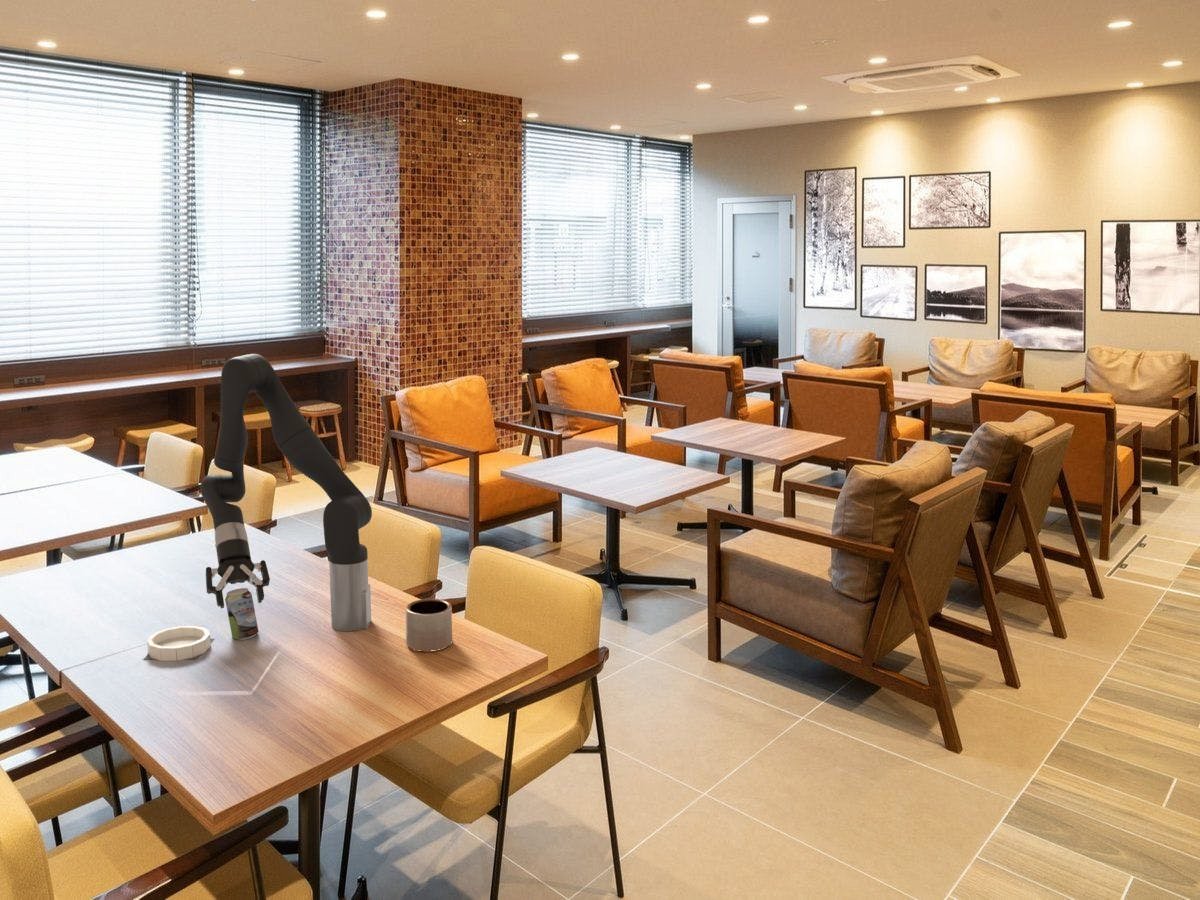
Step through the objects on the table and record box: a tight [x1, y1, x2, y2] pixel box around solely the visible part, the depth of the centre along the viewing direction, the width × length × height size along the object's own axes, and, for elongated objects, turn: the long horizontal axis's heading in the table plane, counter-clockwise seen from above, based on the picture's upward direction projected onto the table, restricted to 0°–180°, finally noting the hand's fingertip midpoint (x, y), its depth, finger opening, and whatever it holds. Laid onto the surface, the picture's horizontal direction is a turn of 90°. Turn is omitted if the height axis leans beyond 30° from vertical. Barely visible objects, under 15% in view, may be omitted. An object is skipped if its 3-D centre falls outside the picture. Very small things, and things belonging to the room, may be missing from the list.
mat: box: [142, 638, 215, 661], centre depth 222 cm, size 12×12×1 cm
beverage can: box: [224, 587, 259, 641], centre depth 229 cm, size 6×7×12 cm
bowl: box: [146, 625, 212, 662], centre depth 222 cm, size 13×13×3 cm
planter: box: [405, 598, 453, 651], centre depth 228 cm, size 11×11×10 cm
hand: (241, 604), depth 228 cm, fingers open, 8 cm apart
